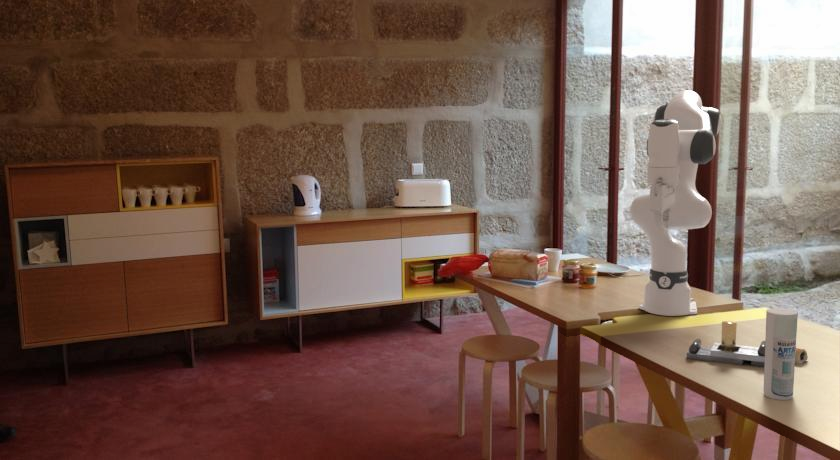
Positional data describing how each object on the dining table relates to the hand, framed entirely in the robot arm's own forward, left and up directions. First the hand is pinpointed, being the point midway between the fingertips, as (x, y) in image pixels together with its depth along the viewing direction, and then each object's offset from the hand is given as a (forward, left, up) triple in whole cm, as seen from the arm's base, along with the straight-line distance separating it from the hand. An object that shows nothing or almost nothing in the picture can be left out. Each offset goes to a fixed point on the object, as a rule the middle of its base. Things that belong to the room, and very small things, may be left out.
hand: (662, 224), depth 227 cm
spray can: (+38, +35, -34) cm, 62 cm away
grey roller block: (+14, +21, -34) cm, 42 cm away
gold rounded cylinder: (+14, +21, -34) cm, 42 cm away
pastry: (+8, +35, -34) cm, 49 cm away
